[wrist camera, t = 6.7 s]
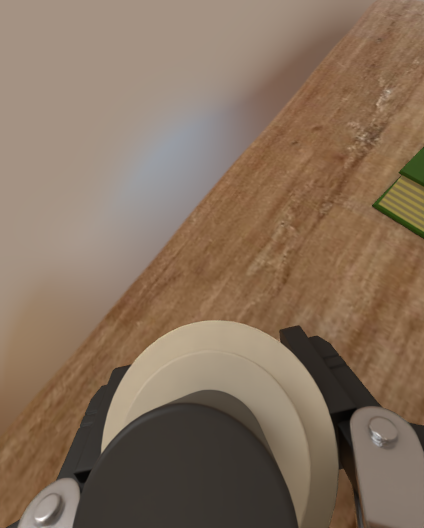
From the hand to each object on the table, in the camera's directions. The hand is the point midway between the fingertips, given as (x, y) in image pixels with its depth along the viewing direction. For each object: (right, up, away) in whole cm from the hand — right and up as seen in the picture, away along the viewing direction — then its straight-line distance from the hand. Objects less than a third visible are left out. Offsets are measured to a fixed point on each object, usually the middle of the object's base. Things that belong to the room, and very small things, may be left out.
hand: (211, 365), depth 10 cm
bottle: (+1, -4, +5) cm, 7 cm away
